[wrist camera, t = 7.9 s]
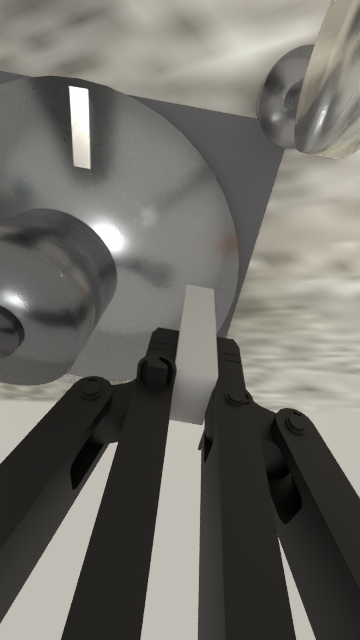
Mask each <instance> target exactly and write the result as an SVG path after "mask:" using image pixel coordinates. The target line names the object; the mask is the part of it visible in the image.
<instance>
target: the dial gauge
mask: <svg viewBox="0 0 360 640" xmlns="http://www.w3.org/2000/svg"><path fill="white" fill-rule="evenodd" d="M257 119H259V120H260V124H261V127H262V129H263V131H264V133H265V135H266V136H267V137H268V139H269V140H270V141H271V142H273V143H274V144H276V145H278V146H280V147H283V148H297V150H298V151H300V152H303V153H309V154H314V155H320V156H325V157H331V158H336V159H341V158H345V157H348V156H349V155H351V154H353V153H355V152H356V151H357V150H359V149H360V0H331V2H330V5H329V8H328V10H327V13H326V15H325V18H324V21H323V23H322V26H321V29H320V32H319V34H318V37H317V40H316V43H315V45H304V46H300V47H298V48H296V49H294V50H292V51H290V52H288V53H287V54H286V55H285V56H283V57H282V58H281V59H280V60H279V61H278V62H277V63H276V64H275V65H274V67H273V68H272V69H271V70H270V72H269V73H268V75H267V76H266V78H265V80H264V82H263V84H262V86H261V89H260V92H259V95H258V100H257Z"/></svg>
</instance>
